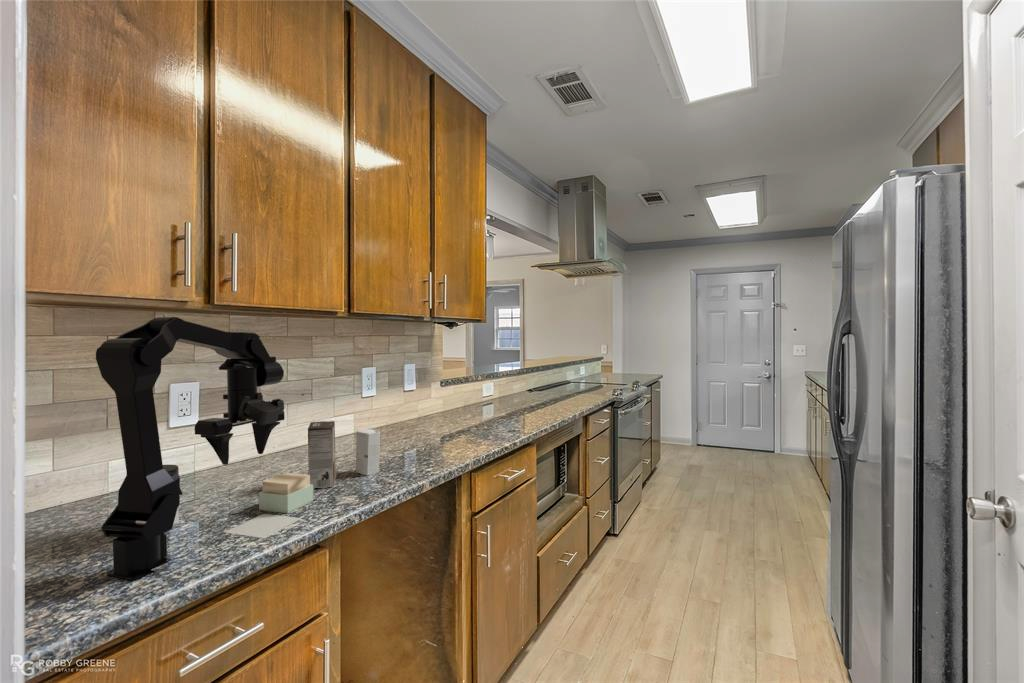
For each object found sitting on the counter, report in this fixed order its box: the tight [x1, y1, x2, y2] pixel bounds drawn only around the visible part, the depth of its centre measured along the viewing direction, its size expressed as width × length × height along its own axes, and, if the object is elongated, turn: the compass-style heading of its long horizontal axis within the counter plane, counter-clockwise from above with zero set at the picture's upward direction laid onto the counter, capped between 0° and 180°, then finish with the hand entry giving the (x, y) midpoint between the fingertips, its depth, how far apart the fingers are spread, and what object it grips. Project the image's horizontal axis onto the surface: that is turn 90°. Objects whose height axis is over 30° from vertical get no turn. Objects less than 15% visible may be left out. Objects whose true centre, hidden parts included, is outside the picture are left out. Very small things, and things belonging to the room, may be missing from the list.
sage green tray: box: [258, 484, 314, 514], centre depth 107 cm, size 8×8×4 cm
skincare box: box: [355, 428, 381, 476], centre depth 134 cm, size 6×4×12 cm
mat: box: [224, 513, 302, 539], centre depth 96 cm, size 10×10×1 cm
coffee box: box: [307, 420, 337, 490], centre depth 124 cm, size 9×6×16 cm
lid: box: [262, 472, 310, 495], centre depth 107 cm, size 7×7×2 cm
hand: (243, 459), depth 103 cm, fingers open, 9 cm apart
